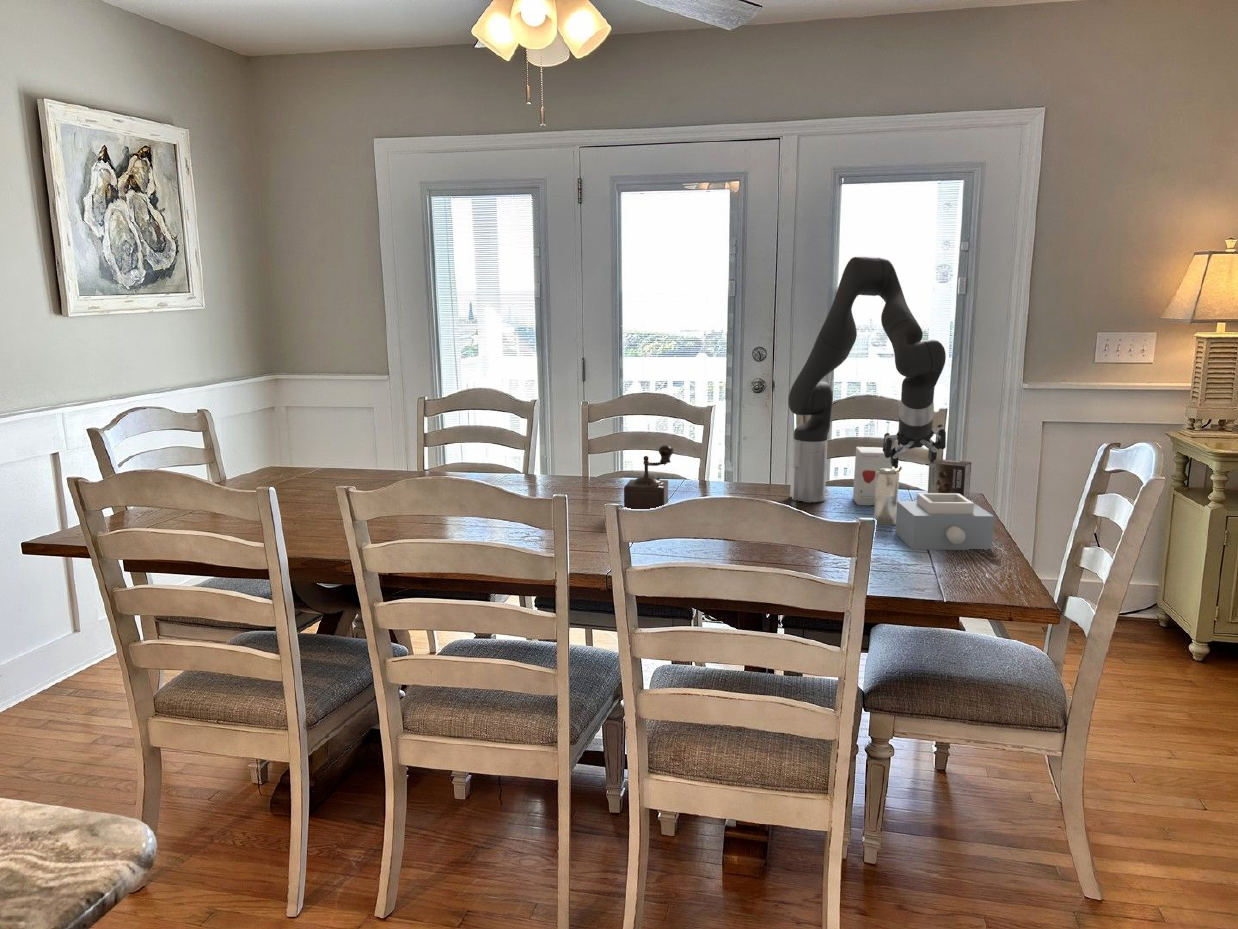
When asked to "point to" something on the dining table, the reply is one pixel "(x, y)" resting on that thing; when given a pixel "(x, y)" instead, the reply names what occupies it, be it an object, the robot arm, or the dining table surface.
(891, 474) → the spout can
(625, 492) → the manual coffee grinder
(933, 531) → the box
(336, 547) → the dining table surface
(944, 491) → the coffee box
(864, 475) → the supplement box
